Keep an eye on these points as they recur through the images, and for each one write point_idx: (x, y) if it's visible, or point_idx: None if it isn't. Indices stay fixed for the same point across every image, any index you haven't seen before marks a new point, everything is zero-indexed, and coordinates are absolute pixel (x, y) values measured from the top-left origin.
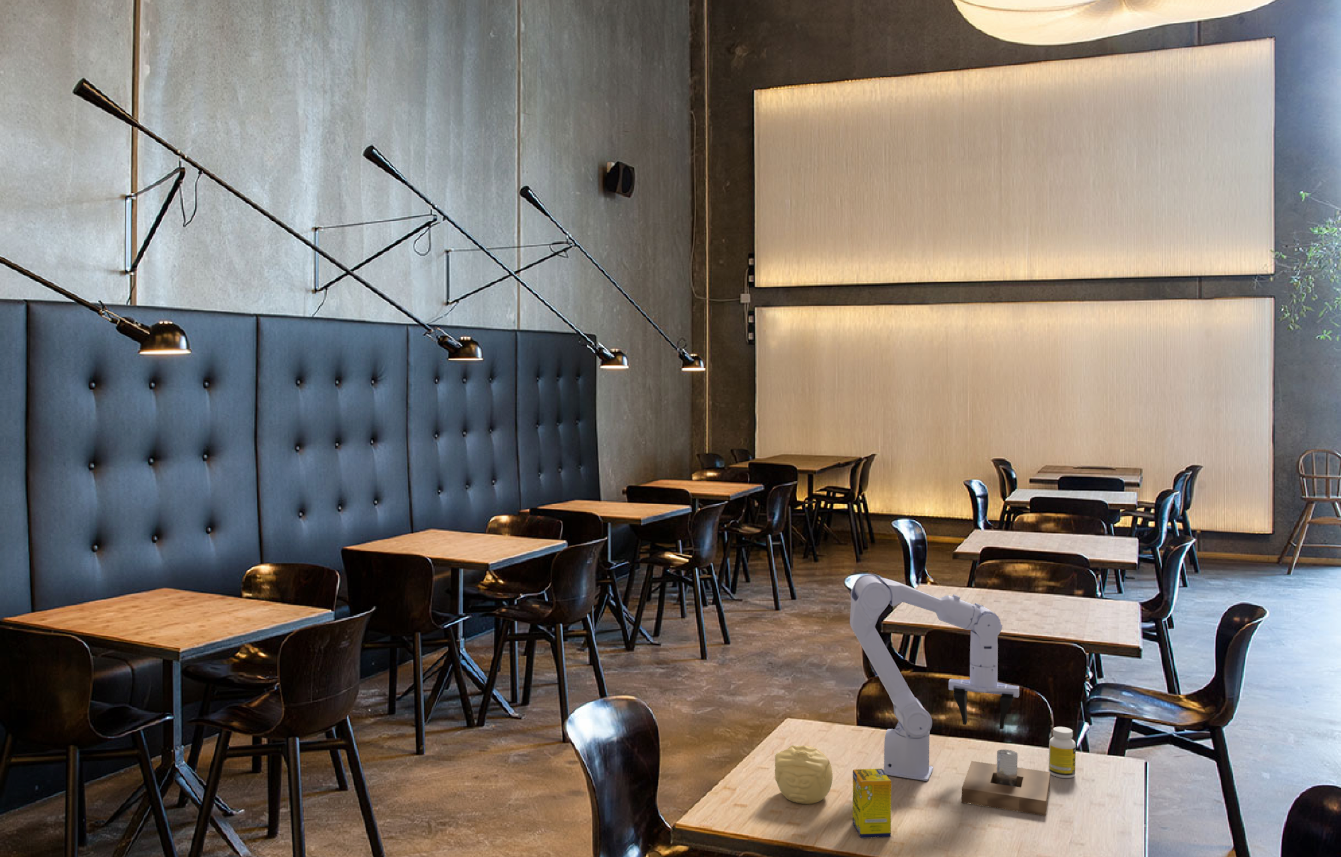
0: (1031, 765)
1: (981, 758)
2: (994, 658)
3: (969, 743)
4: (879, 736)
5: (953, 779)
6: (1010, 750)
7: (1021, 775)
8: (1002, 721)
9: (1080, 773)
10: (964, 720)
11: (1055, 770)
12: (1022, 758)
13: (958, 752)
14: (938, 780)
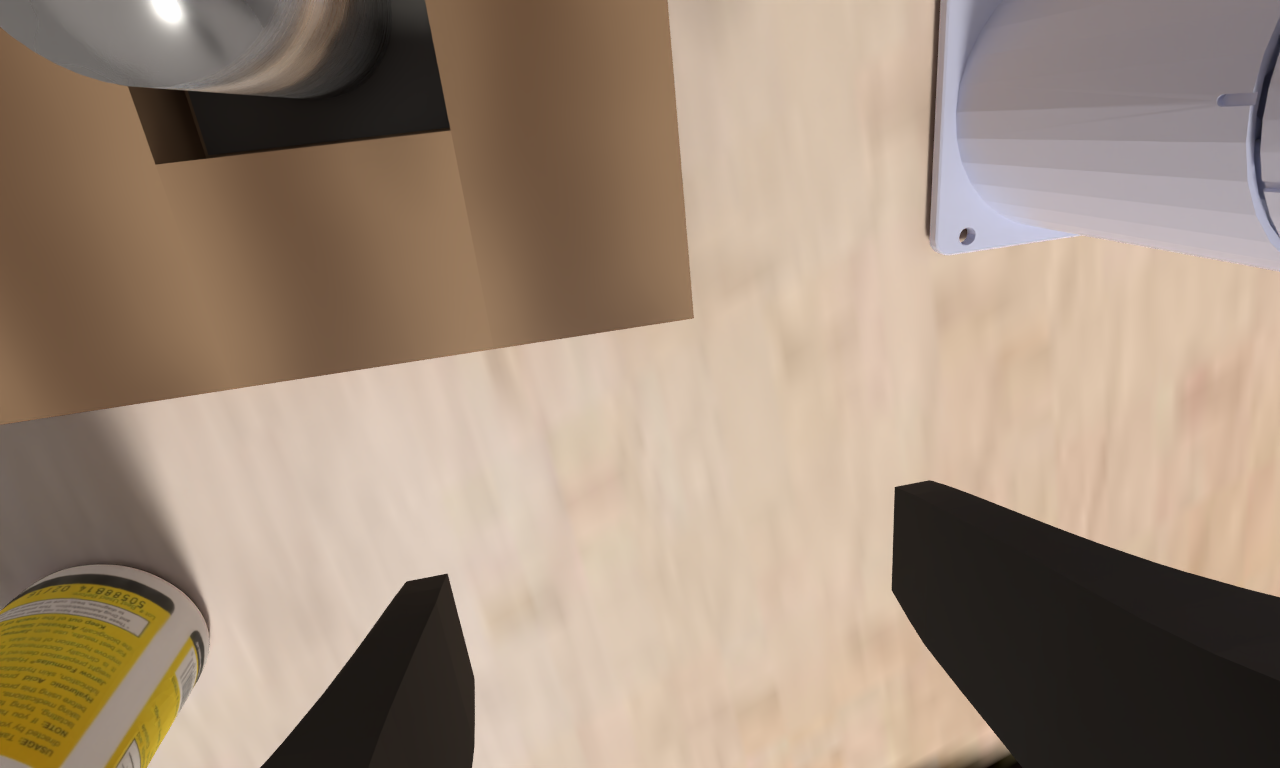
0: None
1: (671, 595)
2: None
3: (780, 754)
4: (1245, 582)
5: (767, 126)
6: (119, 71)
7: (187, 193)
8: (374, 649)
9: None
10: (950, 502)
11: (99, 590)
12: None
13: (815, 606)
14: (865, 43)
